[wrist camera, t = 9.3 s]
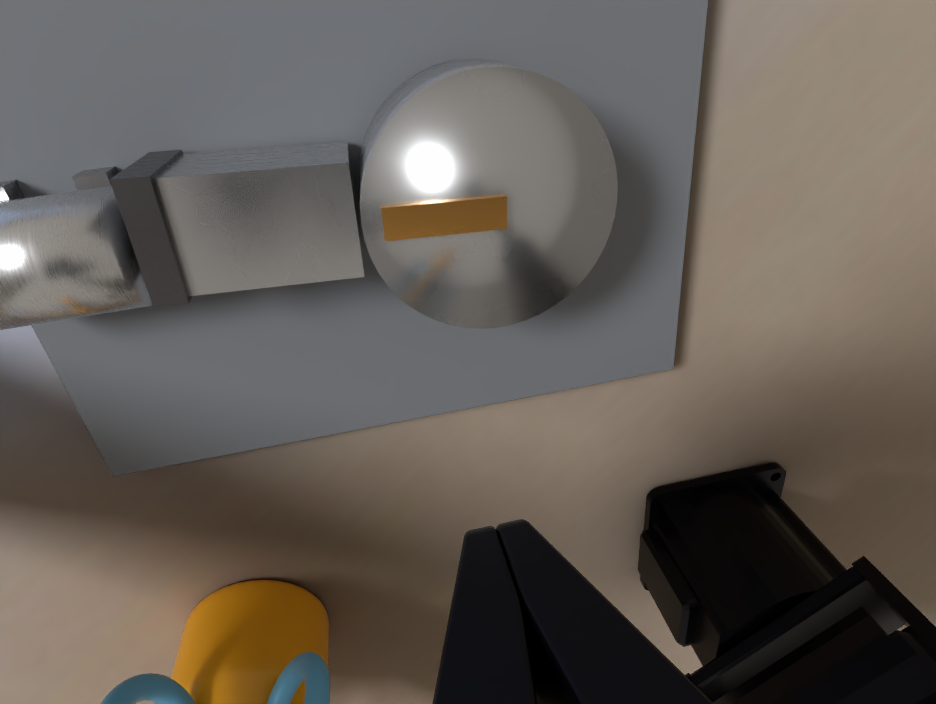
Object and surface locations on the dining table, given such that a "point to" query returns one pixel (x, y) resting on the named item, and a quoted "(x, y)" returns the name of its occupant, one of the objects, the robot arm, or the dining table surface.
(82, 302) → the duct stub
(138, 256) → the dial knob with block
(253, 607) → the cylinder
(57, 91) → the mat
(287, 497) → the dining table surface
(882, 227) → the dining table surface
